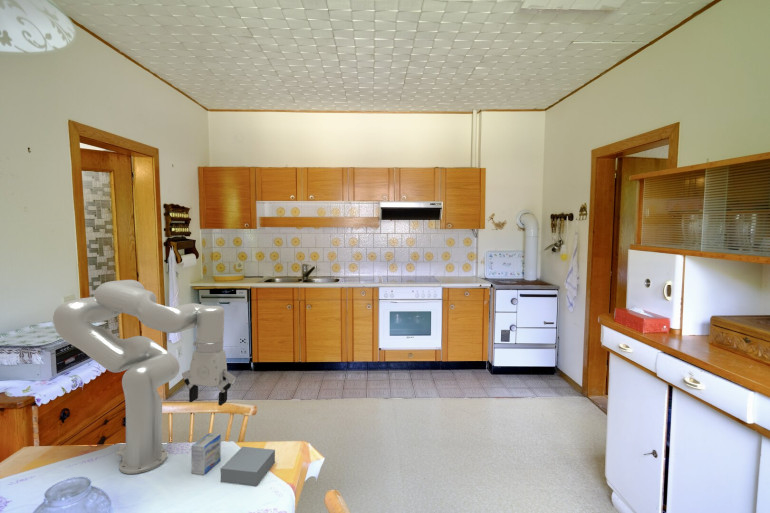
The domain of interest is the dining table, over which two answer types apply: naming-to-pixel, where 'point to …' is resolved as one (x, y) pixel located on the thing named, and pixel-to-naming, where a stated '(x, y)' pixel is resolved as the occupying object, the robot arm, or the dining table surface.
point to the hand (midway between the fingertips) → (207, 402)
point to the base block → (248, 466)
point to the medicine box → (206, 453)
